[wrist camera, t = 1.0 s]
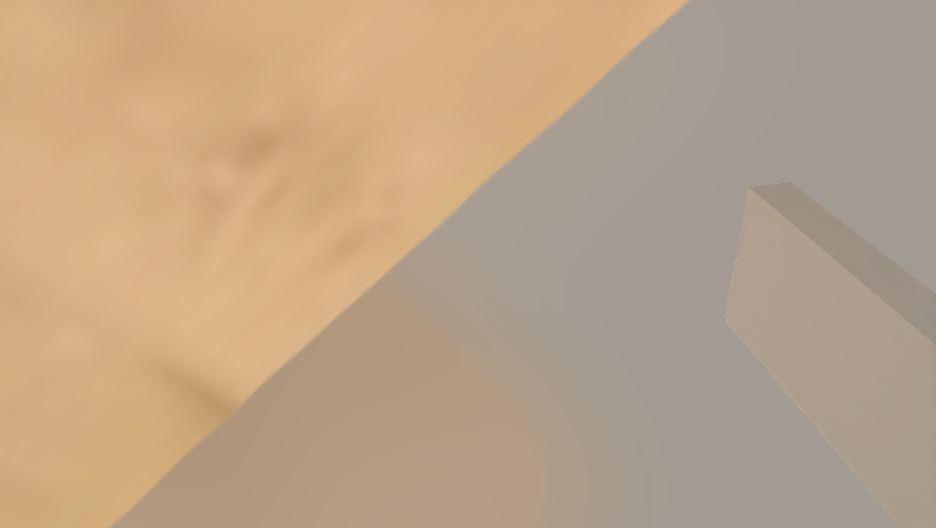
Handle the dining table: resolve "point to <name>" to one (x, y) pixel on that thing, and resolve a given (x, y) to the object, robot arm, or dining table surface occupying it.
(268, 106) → the dining table surface
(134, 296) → the dining table surface
